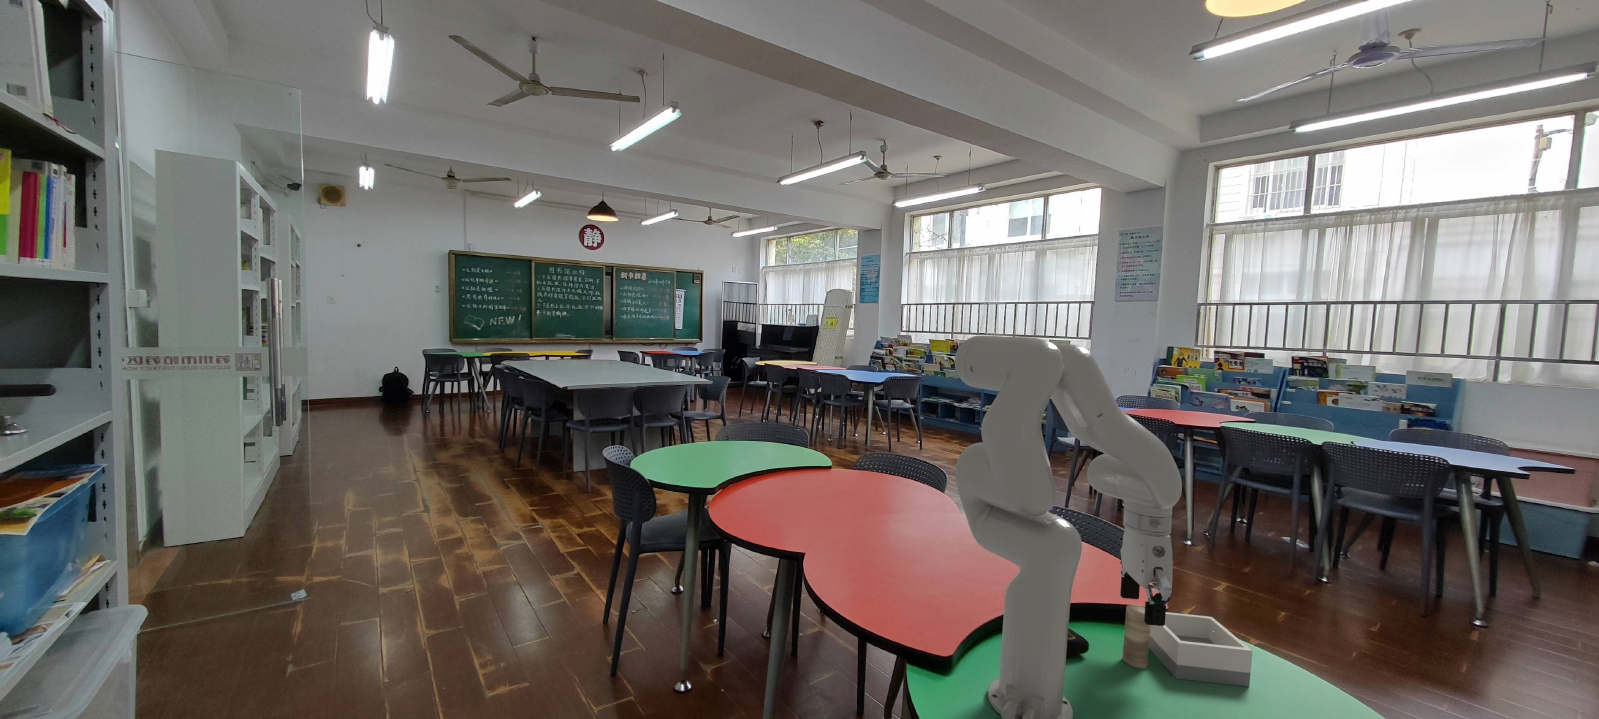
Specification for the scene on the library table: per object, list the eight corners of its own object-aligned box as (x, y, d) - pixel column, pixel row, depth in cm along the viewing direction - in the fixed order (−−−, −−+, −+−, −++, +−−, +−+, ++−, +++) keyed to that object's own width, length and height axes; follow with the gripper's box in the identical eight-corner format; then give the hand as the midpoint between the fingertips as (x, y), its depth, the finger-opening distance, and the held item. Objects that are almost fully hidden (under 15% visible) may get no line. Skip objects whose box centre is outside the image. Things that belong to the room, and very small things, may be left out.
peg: (1146, 671, 103) (1151, 617, 102) (1121, 663, 105) (1125, 610, 105) (1147, 661, 106) (1152, 609, 106) (1123, 653, 108) (1127, 602, 108)
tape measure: (1090, 658, 107) (1091, 638, 106) (1060, 663, 104) (1062, 643, 104) (1063, 639, 113) (1064, 620, 113) (1034, 643, 111) (1036, 624, 111)
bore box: (1249, 686, 100) (1252, 650, 99) (1175, 678, 101) (1178, 642, 101) (1208, 649, 112) (1211, 616, 111) (1143, 642, 113) (1146, 610, 113)
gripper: (1195, 539, 95) (1188, 638, 96) (1146, 506, 112) (1141, 590, 114) (1147, 536, 96) (1141, 634, 97) (1106, 504, 113) (1101, 587, 115)
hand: (1141, 610), depth 105 cm, fingers open, 9 cm apart
